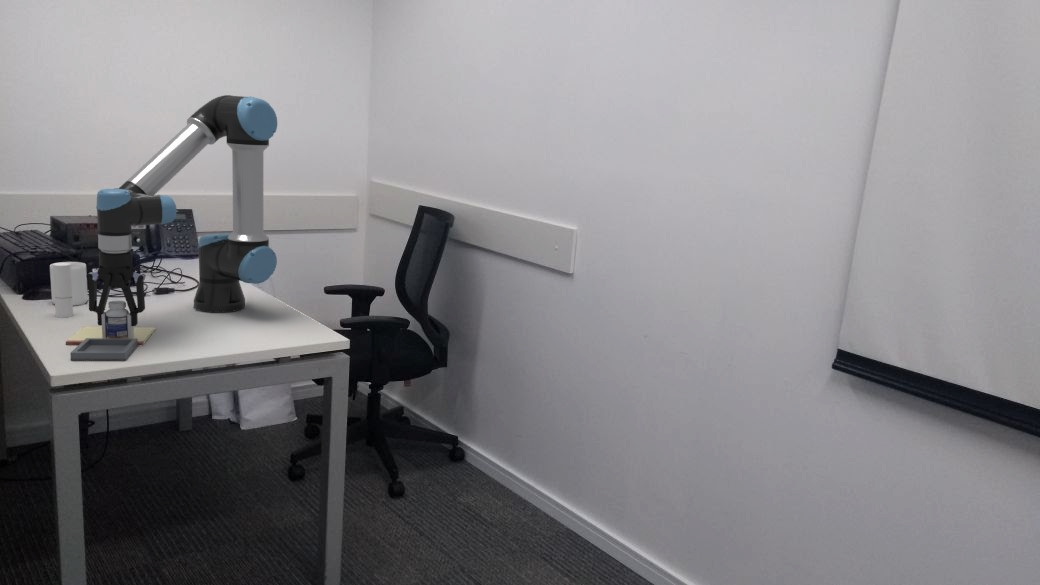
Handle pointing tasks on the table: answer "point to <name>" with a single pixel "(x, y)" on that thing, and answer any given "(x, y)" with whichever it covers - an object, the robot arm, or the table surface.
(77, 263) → the mug
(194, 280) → the table surface
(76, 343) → the notepad
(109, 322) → the pill bottle
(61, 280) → the tube
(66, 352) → the table surface
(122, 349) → the tray
